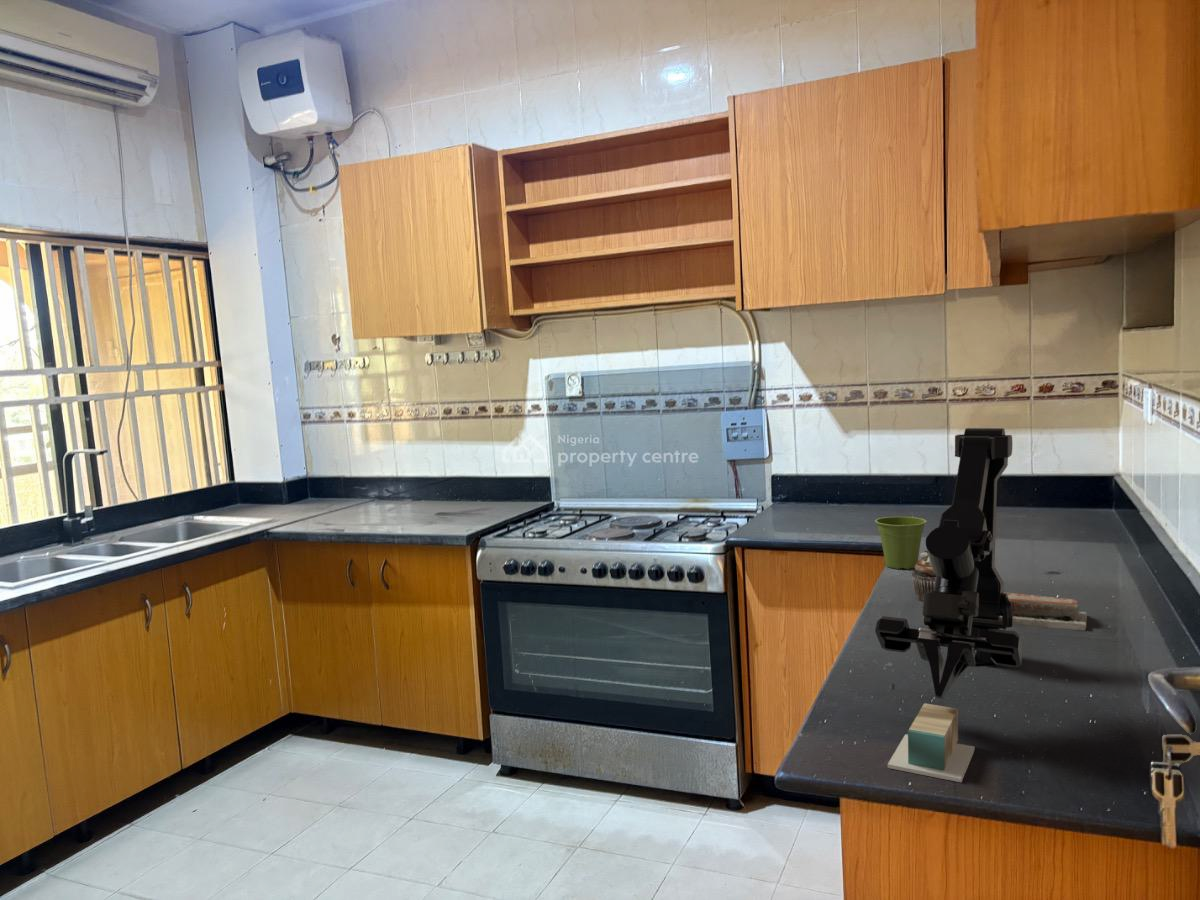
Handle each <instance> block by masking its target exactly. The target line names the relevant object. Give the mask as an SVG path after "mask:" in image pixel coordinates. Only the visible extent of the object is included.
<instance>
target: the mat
mask: <svg viewBox="0 0 1200 900" xmlns="http://www.w3.org/2000/svg"><path fill="white" fill-rule="evenodd" d="M975 748H976V747H975V746H974V745H967V744H963V743H958V742H957V743H956V745H955V747H954V750H953V752H952V754H951V756H950V758H949V761H948V763H947V765H946V767H945V769H944V770H938V769H933V768H928V767H923V766H918V765H913V764H908V733H907V734H904V736H903V738H902V739H901V741H900V742H899V744H898V746H897V747H896V749H895V751H894V753H893V754H892V756H891V757H890V760H889V761H888V763H887V769H891V770H892V769H893V770H896V771H902V772H907V773H911V774H916V775H921V776H925V777H927V776H928V777H932V778H936V779H941V780H947V781H952V782H957V783H963V779H964V777H965V774H966V773H967V770H968V768H969V764H970V763H971V760H972V758H973V756H974V753H975V750H976V749H975Z"/></svg>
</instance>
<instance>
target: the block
mask: <svg viewBox="0 0 1200 900" xmlns="http://www.w3.org/2000/svg"><path fill="white" fill-rule="evenodd" d="M907 735H908V764H913V765H918V766H923V767H928V768H933V769H938V770H944V769H945V767H946V765H947V763H948V761H949V758H950V756H951V754H952V752H953V750H954V747H955V745H956V743H957V744H958V740H959V708H956V707H950V706H943V705H937V704H930V703H923V705H922V706H921V708H920V710H919V712H918V713H917V715H916V717H915V718H914V720H913V722H912V723H911V725H910V727H909V729H908V730H907Z"/></svg>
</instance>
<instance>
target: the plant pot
mask: <svg viewBox="0 0 1200 900" xmlns="http://www.w3.org/2000/svg"><path fill="white" fill-rule="evenodd" d="M874 522H875V523H876V524H877V528H878V532H879V534H880V540H881V546H882V551H883V552H882V553H883V557H884V562H885V566H886V567H888V568H891V569H893V570H894V569H895V570H897V569H898V570H899V569H905V570H910V569H915V565H916V564H917V563H918V561H919V557H920V556H919V555H920V548H921V543H922V541H921V540H922V535H923V533H924V528H925V524H927V520H926V519H925V518H920V517H915V516H913V517H912V516H885V517H884V516H883V517H879V518H877V519H874Z"/></svg>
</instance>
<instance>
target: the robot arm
mask: <svg viewBox="0 0 1200 900" xmlns="http://www.w3.org/2000/svg"><path fill="white" fill-rule="evenodd" d="M1012 453H1013V436H1012V434H1006V431H1005V428H1004V427H1003V428H1001V427H999V428H998V427H995V428H992V427H991V428H990V427H985V428H984V427H982V428H981V427H974V428H972V427H966V428H965V429H964V433H963V434H960V433H959V434H955V436H954V457H956V458H959V463H958V468H957V475H956V480H955V486H954V492H953V497H952V502H951V505H950V506H949V507H948V508H947V509H945V510H944V511H943V512H942V513H941V516H940V520H939V525H938V527H935V528H934V529H932V530H931V531H930V533H928V535H927V536H926V538H925V547H926V551H928V555H929V559H930V562H931V566H932V569H933V572H934V574H936V578H935V584H934V590H933V592H925V593H924V602H922V603H923V605H922V616H924V617H923V623H924V626H927V628H925V627H918V629H917V628H910V626H909V622H908V619H907V618H901V617H894V616H893V617H892V616H886V615H885V616H883V615H882V616H881V617H880V618H879V619H878V620H877V621H876V624H875V625H876V626H875V634H876V636H877V640H878V642H879V644H880V648H881V649H883V650H885V651H891V652H898V653H906V652H907V651H908V650H910V649H911V647H912V643H914V644H916V648H917V650H918V653H919V657H920V659H921V660H923V661H926V662H928V664H929V668H930V672H931V673H930V674H931V678H932V679H931V680H932V683H933V689H934V694H935V697H936V699H941V700H943V699H944V698H945V696H946V695H947V693H948V692H949V690H950V688H951V687H952V686H953V684H954V683H955V682H956V680H957V679H958V678H959V676H961V674H962V673H963V672H964V671H965V670H966V669H967V668H968V667H971V668H973V667H975V666H976V665H990V664H994V665H997V666H1003V667H1011V668H1015V669H1016V668H1019V667H1021V666H1022V661H1023V647H1022V643H1021V636H1020V635H1019V634H1018V632H1017V631H1016V630H1007V629H1008V628H1012V627H1014V624H1013V613H1012V604H1011V602H1010V601H1009V598H1008V595H1007V593H1008V592H1006V593H1004V592H1005V583H1004V581H1003V578H1002V577H1001V575H1000V573H999V571H998V570H997V568H996V566H995V560H996V531H997V527H996V526H997V499H998V498H997V494H998V491H997V490H998V480H999V479H1000V477H1001V476H1002V475H1003V473H1004V471H1006V469H1007V467H1008V465H1009V458H1010V457H1011V456H1012ZM1000 616H1002V617H1000ZM942 647H946V648H947V653H946V659H945V662H944V658H943V655H942V651H941V650H942ZM943 666H944V667H943Z"/></svg>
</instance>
